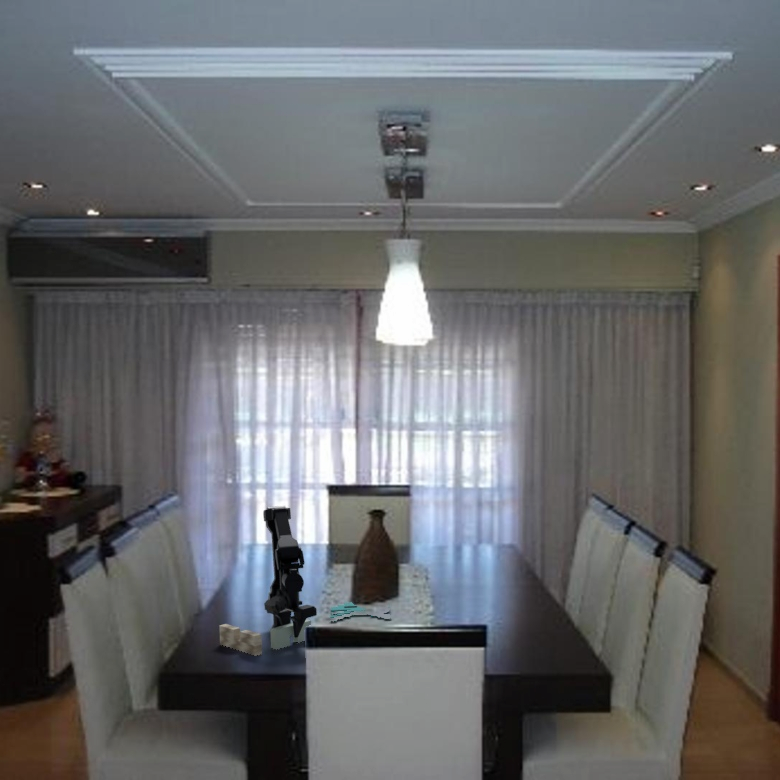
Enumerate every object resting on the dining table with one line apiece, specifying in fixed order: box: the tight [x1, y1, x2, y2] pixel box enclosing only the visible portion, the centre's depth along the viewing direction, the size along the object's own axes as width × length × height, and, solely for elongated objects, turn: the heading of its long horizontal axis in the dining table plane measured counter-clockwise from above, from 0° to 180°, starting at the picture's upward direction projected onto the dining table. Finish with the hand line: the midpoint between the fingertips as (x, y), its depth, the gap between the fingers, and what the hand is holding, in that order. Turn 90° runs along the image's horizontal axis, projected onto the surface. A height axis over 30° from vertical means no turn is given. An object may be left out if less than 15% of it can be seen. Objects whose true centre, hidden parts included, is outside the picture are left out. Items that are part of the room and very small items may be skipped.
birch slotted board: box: [218, 623, 263, 657], centre depth 293 cm, size 18×2×6 cm, turn 45°
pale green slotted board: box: [270, 618, 312, 651], centre depth 297 cm, size 14×2×6 cm, turn 135°
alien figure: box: [329, 601, 391, 619], centre depth 331 cm, size 20×2×20 cm
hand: (291, 635), depth 297 cm, fingers open, 5 cm apart
